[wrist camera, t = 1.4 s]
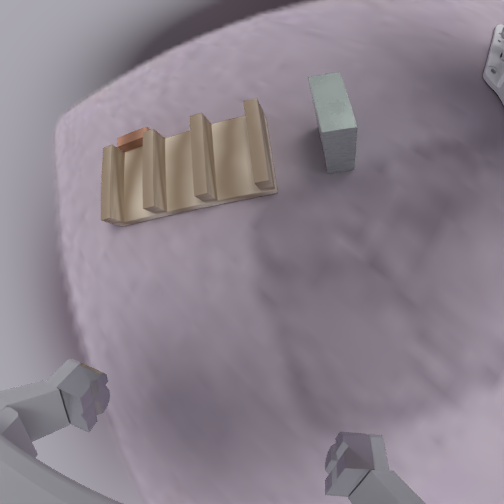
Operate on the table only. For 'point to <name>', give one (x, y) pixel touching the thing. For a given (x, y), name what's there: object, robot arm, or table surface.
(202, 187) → the rack
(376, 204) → the table surface
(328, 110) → the block
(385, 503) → the robot arm
